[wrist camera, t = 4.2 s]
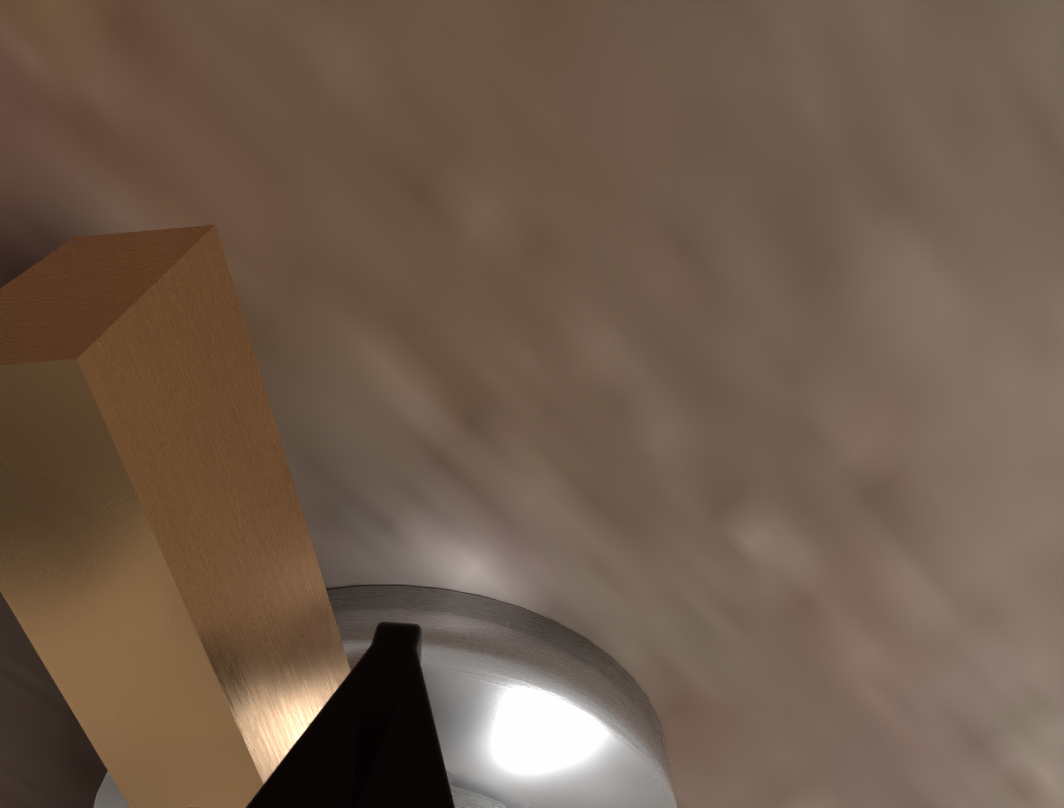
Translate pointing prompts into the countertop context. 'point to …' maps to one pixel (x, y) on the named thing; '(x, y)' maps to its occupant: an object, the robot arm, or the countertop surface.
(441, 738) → the base
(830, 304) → the countertop surface
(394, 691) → the robot arm
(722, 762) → the countertop surface
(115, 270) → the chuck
